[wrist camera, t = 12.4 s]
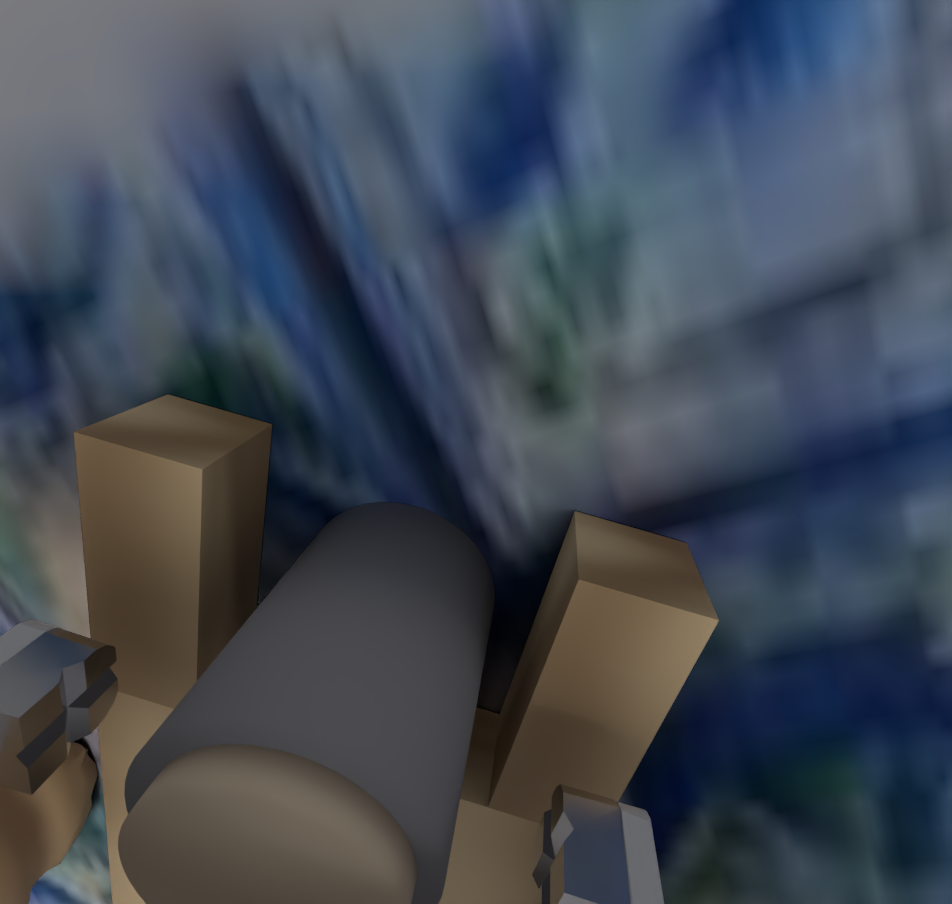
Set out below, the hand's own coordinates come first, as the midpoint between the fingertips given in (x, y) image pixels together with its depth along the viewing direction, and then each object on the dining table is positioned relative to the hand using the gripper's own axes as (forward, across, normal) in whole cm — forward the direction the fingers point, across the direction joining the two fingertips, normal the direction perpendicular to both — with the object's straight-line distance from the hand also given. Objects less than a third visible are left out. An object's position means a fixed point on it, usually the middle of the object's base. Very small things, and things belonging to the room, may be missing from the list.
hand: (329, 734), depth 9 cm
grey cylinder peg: (+4, 0, 0) cm, 4 cm away
